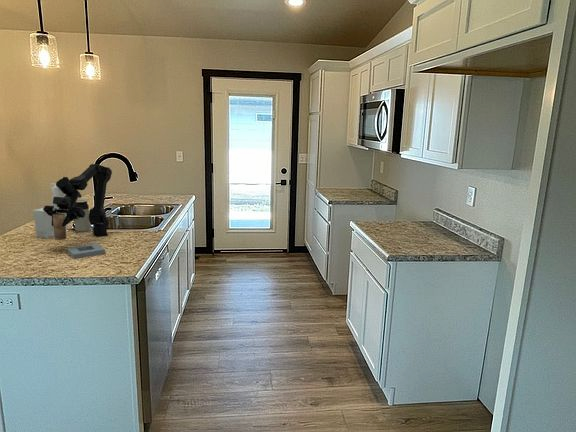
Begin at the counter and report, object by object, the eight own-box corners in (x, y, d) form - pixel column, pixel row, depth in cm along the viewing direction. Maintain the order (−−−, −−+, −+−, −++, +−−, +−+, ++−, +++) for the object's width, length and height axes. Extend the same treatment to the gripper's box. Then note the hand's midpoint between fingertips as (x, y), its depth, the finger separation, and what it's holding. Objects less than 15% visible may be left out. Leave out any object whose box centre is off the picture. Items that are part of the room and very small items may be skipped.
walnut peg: (64, 236, 200) (62, 213, 198) (68, 238, 197) (66, 214, 195) (53, 238, 197) (51, 214, 194) (56, 240, 194) (54, 216, 191)
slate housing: (96, 247, 208) (96, 243, 208) (105, 253, 198) (104, 249, 198) (66, 251, 199) (66, 247, 199) (73, 258, 189) (73, 254, 189)
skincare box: (57, 236, 226) (54, 208, 223) (46, 239, 220) (44, 211, 217) (45, 234, 229) (43, 207, 226) (35, 237, 223) (32, 209, 220)
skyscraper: (57, 231, 235) (53, 184, 230) (50, 229, 239) (46, 182, 233) (70, 229, 242) (67, 182, 236) (63, 227, 246) (60, 181, 240)
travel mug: (86, 227, 247) (84, 198, 243) (92, 230, 242) (90, 200, 238) (72, 230, 241) (70, 200, 237) (79, 232, 236) (76, 202, 232)
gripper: (43, 189, 197) (29, 215, 188) (80, 190, 195) (67, 218, 187) (55, 202, 206) (43, 228, 198) (90, 204, 204) (79, 230, 196)
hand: (57, 226), depth 194 cm, fingers closed on walnut peg, 5 cm apart
